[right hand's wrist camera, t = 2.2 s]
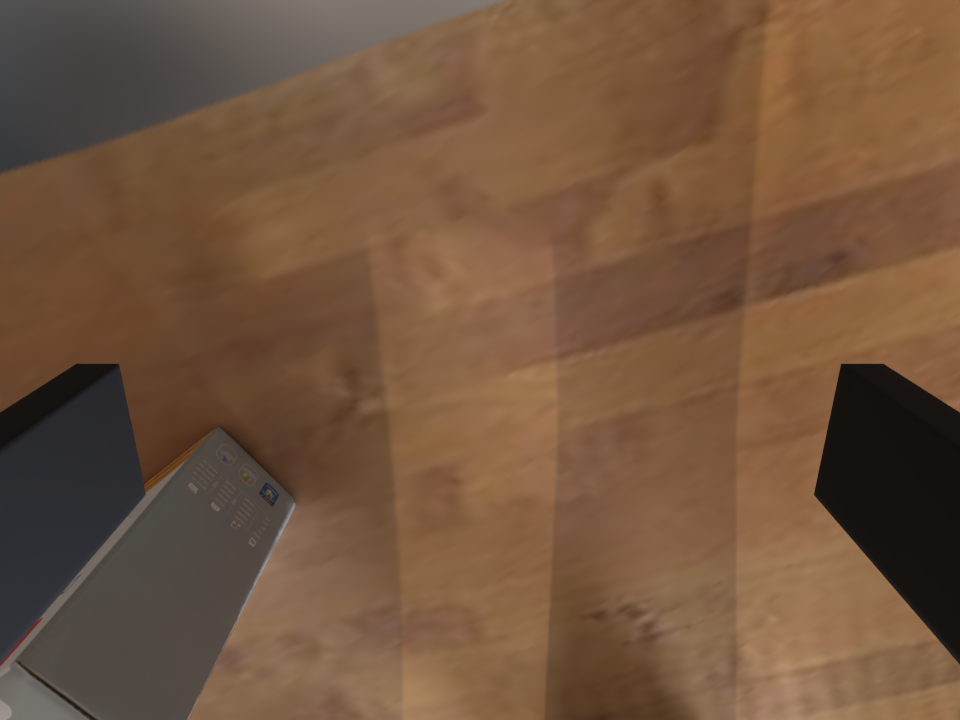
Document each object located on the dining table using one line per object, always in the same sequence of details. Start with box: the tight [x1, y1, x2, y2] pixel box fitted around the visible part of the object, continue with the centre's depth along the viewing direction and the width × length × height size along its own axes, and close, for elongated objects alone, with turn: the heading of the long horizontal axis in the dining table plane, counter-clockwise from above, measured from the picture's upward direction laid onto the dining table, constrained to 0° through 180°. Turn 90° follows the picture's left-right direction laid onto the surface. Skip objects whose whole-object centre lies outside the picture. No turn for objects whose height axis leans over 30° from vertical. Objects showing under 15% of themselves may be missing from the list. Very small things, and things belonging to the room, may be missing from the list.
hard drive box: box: [0, 427, 295, 720], centre depth 37 cm, size 16×8×20 cm, turn 128°
